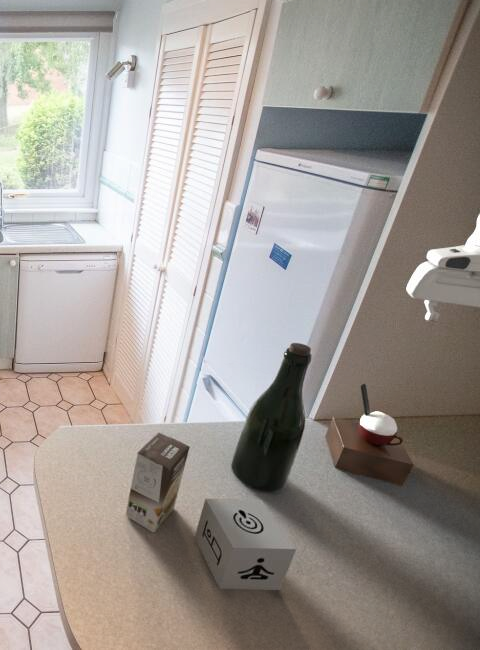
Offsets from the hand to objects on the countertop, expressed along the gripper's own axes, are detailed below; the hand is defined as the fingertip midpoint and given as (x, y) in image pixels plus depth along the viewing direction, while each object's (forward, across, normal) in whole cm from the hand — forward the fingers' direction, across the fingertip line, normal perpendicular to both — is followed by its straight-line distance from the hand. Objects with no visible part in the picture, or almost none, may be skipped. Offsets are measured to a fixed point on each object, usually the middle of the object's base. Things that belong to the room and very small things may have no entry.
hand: (460, 324), depth 93 cm
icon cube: (+34, +35, +49) cm, 69 cm away
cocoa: (+28, +8, +6) cm, 30 cm away
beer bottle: (+34, +30, +23) cm, 51 cm away
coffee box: (+34, +50, +44) cm, 75 cm away
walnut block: (+34, +8, +6) cm, 36 cm away
